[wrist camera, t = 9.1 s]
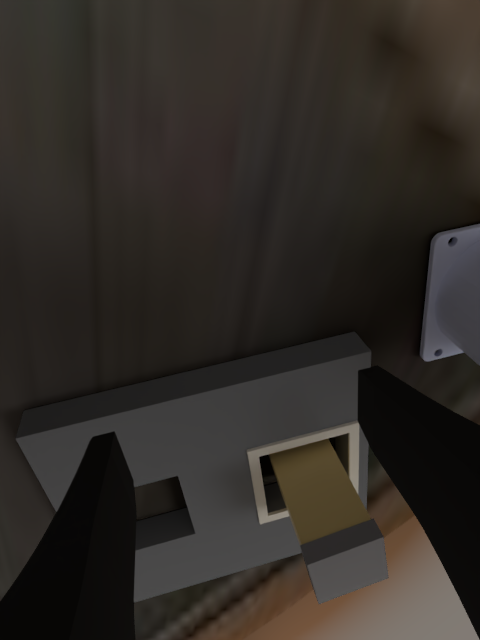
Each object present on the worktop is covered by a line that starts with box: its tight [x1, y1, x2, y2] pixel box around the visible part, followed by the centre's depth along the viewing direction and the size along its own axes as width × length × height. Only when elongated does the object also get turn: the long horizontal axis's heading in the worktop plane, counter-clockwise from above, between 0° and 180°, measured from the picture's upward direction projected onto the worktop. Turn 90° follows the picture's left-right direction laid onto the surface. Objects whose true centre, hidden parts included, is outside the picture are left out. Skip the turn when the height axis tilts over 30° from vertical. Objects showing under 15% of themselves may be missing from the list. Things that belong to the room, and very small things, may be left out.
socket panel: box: [15, 332, 371, 602], centre depth 27 cm, size 18×16×2 cm
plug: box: [268, 439, 388, 604], centre depth 25 cm, size 4×4×8 cm
